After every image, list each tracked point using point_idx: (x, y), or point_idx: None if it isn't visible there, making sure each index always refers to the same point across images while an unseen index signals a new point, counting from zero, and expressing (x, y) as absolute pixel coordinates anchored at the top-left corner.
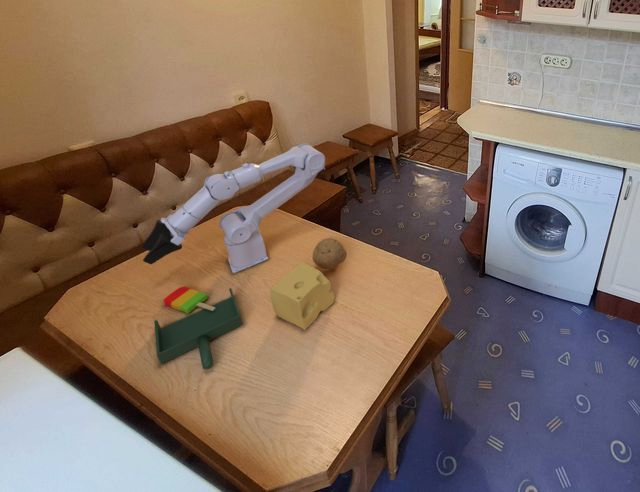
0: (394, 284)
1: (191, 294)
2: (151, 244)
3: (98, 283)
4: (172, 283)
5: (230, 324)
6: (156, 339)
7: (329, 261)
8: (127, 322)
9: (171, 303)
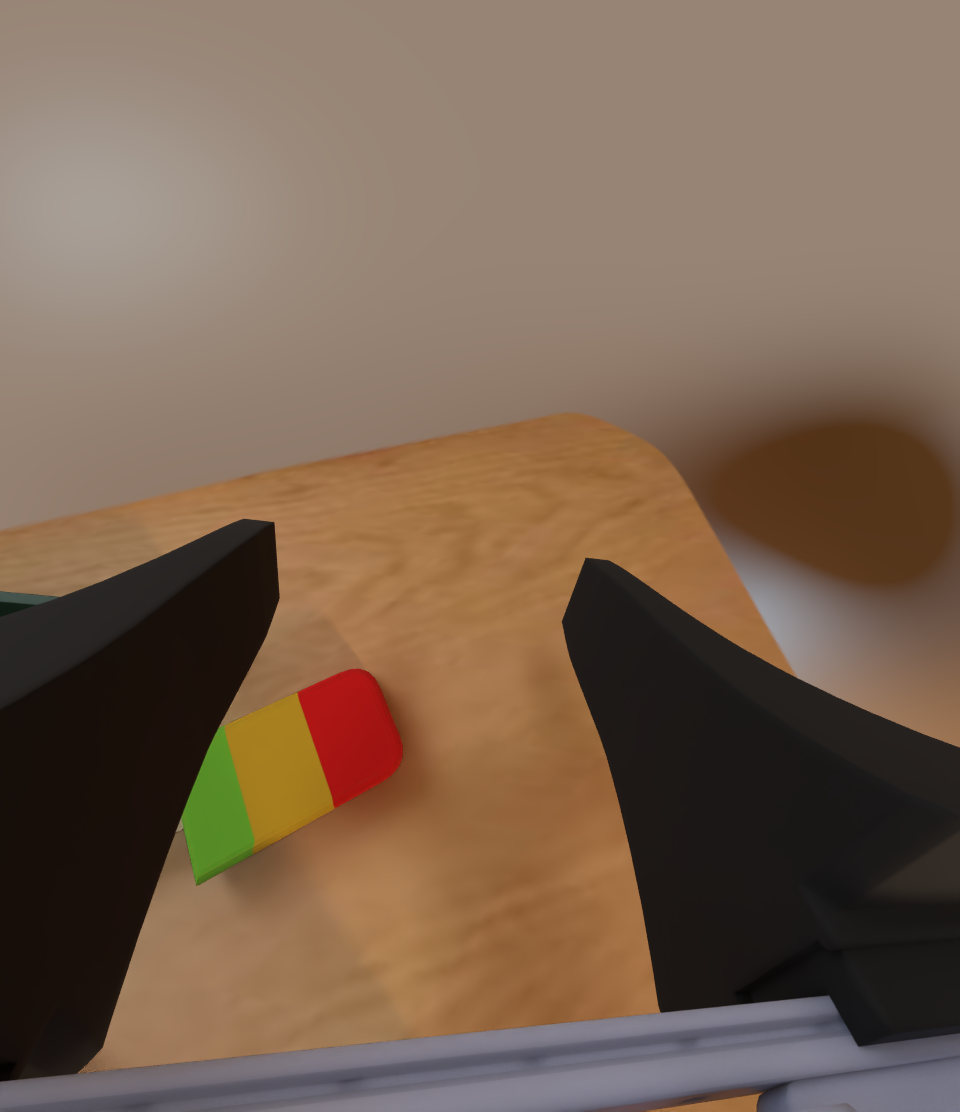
0: None
1: (272, 798)
2: (592, 640)
3: (690, 506)
4: (509, 725)
5: None
6: (27, 596)
7: None
8: (376, 548)
9: (293, 695)
